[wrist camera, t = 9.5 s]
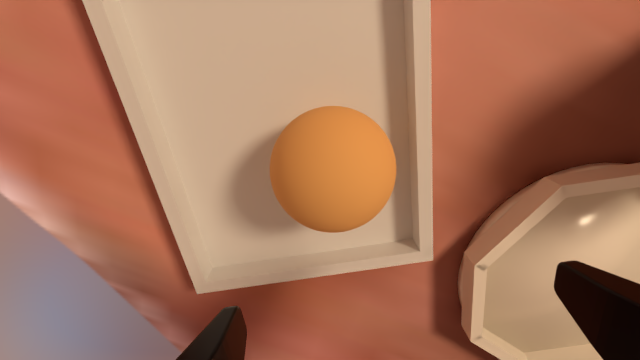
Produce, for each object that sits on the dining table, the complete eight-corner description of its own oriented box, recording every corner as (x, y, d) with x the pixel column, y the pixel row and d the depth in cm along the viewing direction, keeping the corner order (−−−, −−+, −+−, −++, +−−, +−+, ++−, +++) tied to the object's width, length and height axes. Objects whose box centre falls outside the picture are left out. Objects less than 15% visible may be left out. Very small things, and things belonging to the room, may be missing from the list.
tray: (422, 242, 21) (433, 260, 19) (206, 273, 21) (197, 294, 19) (412, -145, 13) (428, -177, 11) (77, -85, 14) (40, -107, 12)
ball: (383, 190, 19) (417, 247, 13) (286, 206, 19) (279, 269, 13) (375, 90, 16) (412, 106, 11) (265, 107, 16) (245, 133, 11)
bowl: (651, 332, 25) (682, 357, 23) (455, 358, 25) (468, 385, 23) (719, 144, 19) (770, 155, 17) (460, 183, 19) (478, 198, 17)
